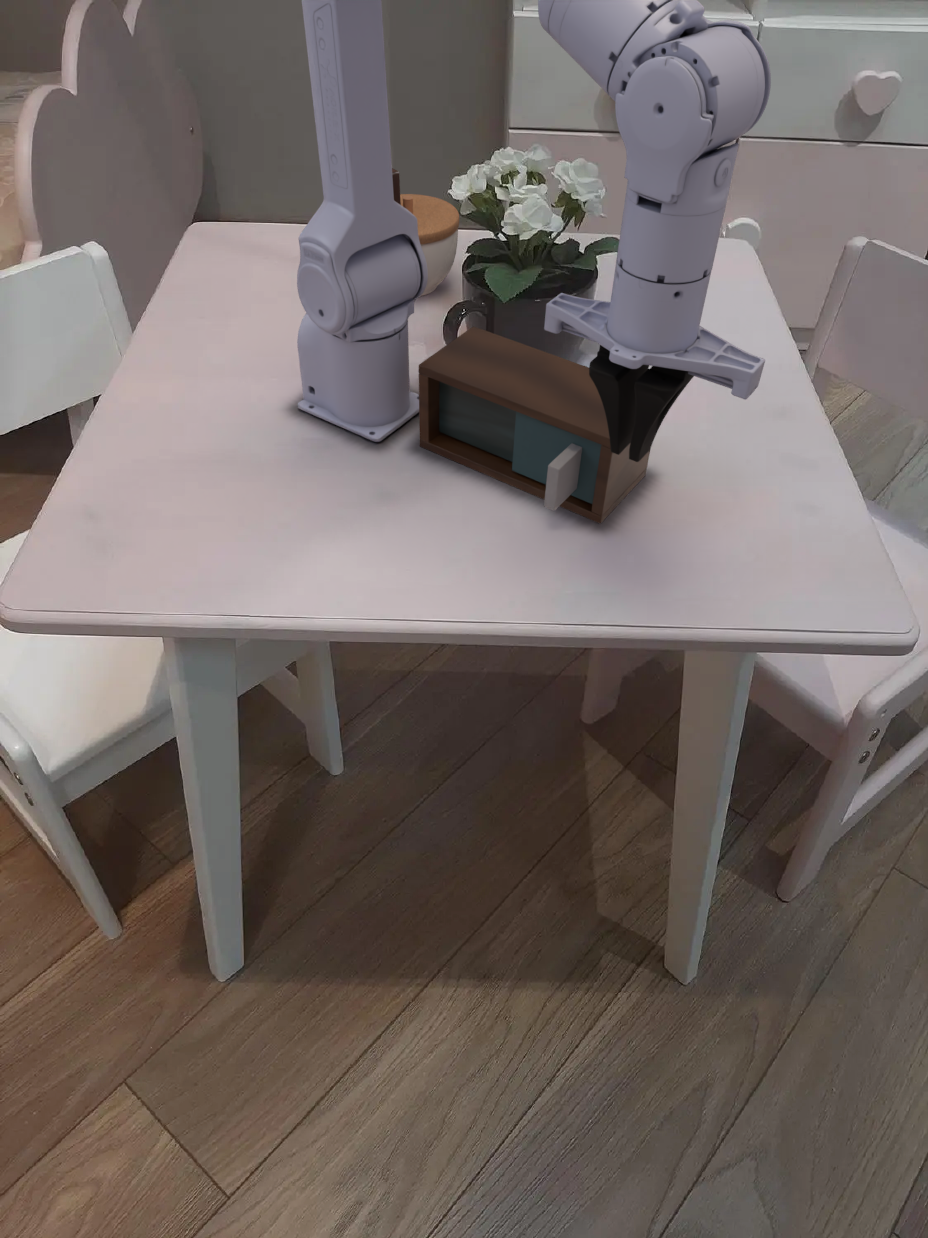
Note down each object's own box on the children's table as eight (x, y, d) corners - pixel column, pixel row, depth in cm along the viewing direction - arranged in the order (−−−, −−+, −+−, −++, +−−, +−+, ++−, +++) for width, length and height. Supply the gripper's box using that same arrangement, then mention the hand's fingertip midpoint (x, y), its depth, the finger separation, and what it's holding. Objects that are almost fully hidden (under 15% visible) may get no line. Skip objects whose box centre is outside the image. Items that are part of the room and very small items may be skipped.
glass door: (570, 528, 73) (578, 467, 69) (487, 492, 76) (491, 431, 72) (594, 502, 75) (604, 442, 71) (513, 468, 78) (518, 408, 74)
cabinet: (600, 524, 75) (614, 440, 69) (419, 446, 82) (418, 364, 76) (645, 475, 80) (662, 393, 74) (470, 405, 87) (473, 325, 81)
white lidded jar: (469, 270, 106) (471, 184, 99) (442, 314, 99) (442, 224, 92) (379, 257, 108) (375, 172, 101) (346, 299, 100) (340, 210, 94)
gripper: (526, 253, 57) (513, 441, 66) (752, 324, 51) (701, 518, 61) (583, 215, 61) (563, 397, 71) (798, 277, 55) (744, 465, 65)
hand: (630, 450), depth 66 cm, fingers closed
